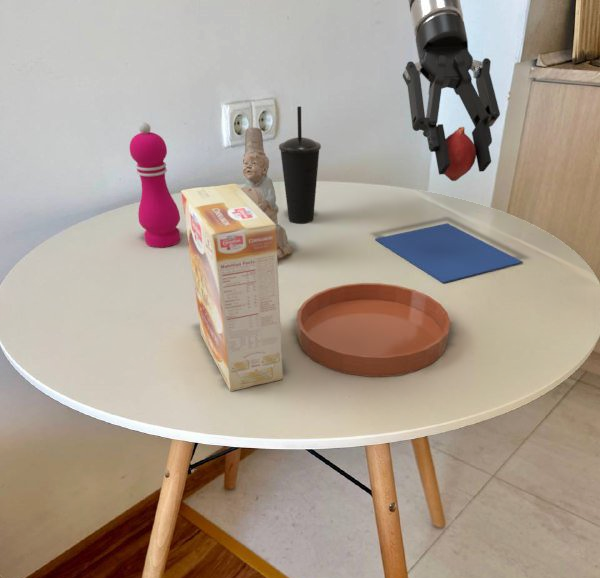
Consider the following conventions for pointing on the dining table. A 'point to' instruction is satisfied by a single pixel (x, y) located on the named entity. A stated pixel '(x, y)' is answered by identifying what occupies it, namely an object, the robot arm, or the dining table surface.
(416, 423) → the dining table surface
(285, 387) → the dining table surface
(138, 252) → the dining table surface
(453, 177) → the onion
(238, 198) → the coffeecake box
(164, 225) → the pepper mill
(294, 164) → the drinking cup
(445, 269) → the blue cloth
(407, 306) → the bowl
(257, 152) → the figurine
